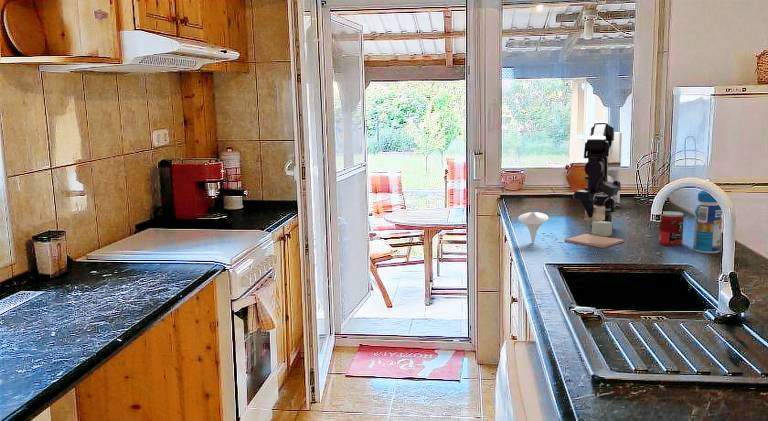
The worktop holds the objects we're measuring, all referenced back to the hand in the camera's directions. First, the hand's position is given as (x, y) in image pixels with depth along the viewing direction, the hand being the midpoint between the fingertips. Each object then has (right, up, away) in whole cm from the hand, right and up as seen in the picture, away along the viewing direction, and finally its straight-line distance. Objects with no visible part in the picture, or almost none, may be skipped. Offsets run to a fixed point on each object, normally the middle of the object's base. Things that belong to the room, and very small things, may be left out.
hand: (594, 216), depth 240 cm
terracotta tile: (0, -9, +1) cm, 9 cm away
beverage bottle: (+32, -12, -18) cm, 38 cm away
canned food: (+25, -10, -5) cm, 27 cm away
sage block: (+7, -7, +13) cm, 17 cm away
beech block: (0, -1, 0) cm, 1 cm away
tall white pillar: (+29, +4, +79) cm, 85 cm away
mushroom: (-22, -10, +3) cm, 24 cm away
